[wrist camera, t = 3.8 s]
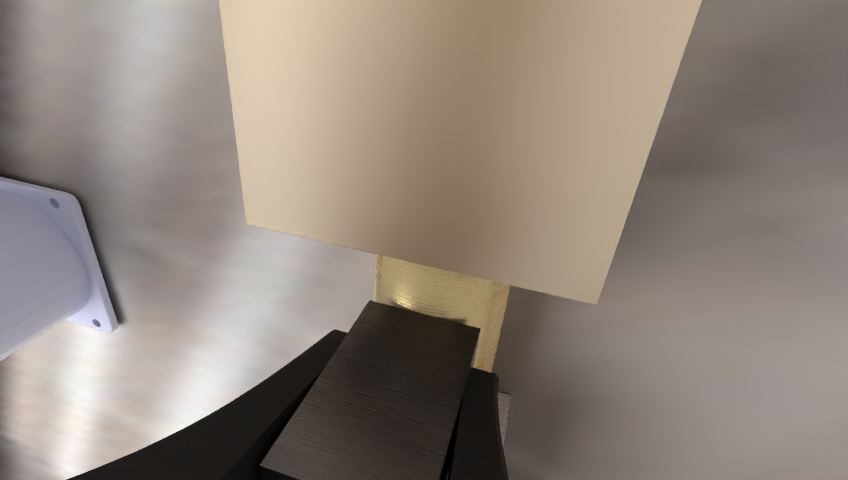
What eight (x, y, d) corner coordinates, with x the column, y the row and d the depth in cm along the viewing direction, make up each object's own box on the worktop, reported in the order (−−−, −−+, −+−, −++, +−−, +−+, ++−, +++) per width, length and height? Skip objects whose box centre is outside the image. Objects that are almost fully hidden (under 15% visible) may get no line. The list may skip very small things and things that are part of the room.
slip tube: (385, 452, 21) (281, 703, 14) (409, 95, 13) (191, 231, 6) (467, 478, 21) (406, 761, 13) (547, 117, 12) (507, 307, 5)
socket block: (372, 135, 15) (246, 224, 9) (379, -82, 12) (199, -153, 6) (586, 172, 14) (596, 304, 8) (652, -62, 11) (746, -129, 5)
